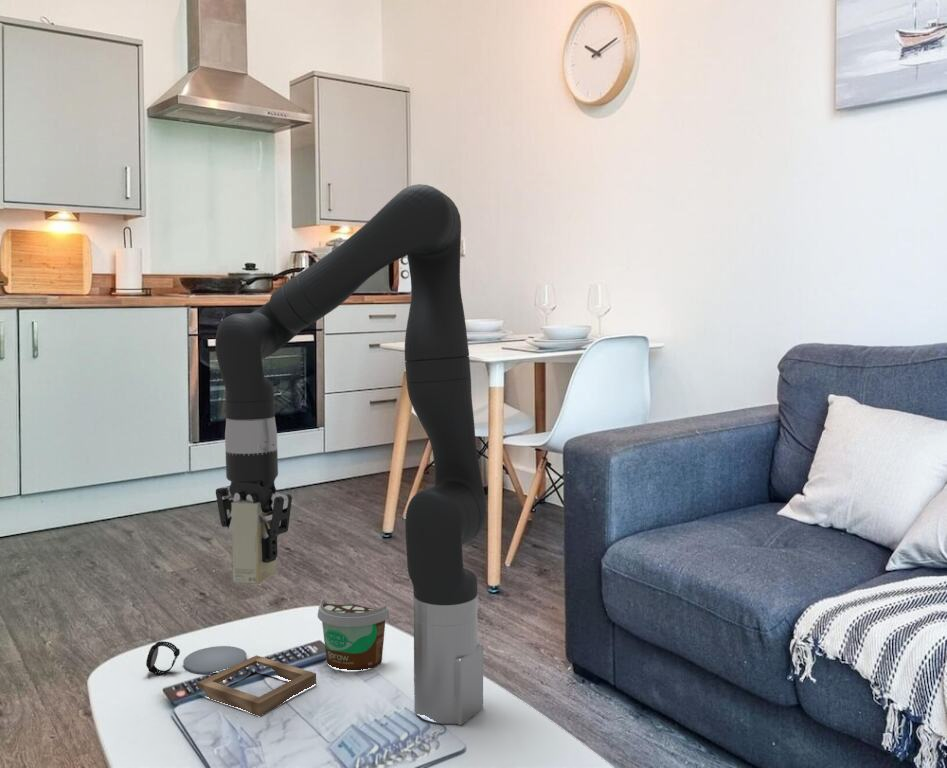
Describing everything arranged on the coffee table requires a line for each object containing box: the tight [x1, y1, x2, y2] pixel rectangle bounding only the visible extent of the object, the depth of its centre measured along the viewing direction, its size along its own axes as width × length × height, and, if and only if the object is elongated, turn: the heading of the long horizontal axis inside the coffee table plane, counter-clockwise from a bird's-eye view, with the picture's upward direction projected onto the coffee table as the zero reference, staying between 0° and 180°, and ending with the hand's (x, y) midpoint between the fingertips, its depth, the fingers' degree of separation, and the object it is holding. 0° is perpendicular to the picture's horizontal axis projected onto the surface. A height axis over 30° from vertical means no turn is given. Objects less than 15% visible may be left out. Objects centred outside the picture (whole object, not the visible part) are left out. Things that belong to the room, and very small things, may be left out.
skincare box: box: [231, 500, 277, 585], centre depth 129 cm, size 6×4×12 cm
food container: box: [317, 597, 390, 670], centre depth 140 cm, size 12×6×10 cm, turn 73°
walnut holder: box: [196, 654, 317, 717], centre depth 131 cm, size 13×12×2 cm
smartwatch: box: [145, 640, 181, 676], centre depth 137 cm, size 4×5×5 cm
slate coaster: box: [183, 645, 247, 675], centre depth 142 cm, size 10×10×1 cm
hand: (254, 558), depth 130 cm, fingers closed on skincare box, 5 cm apart
